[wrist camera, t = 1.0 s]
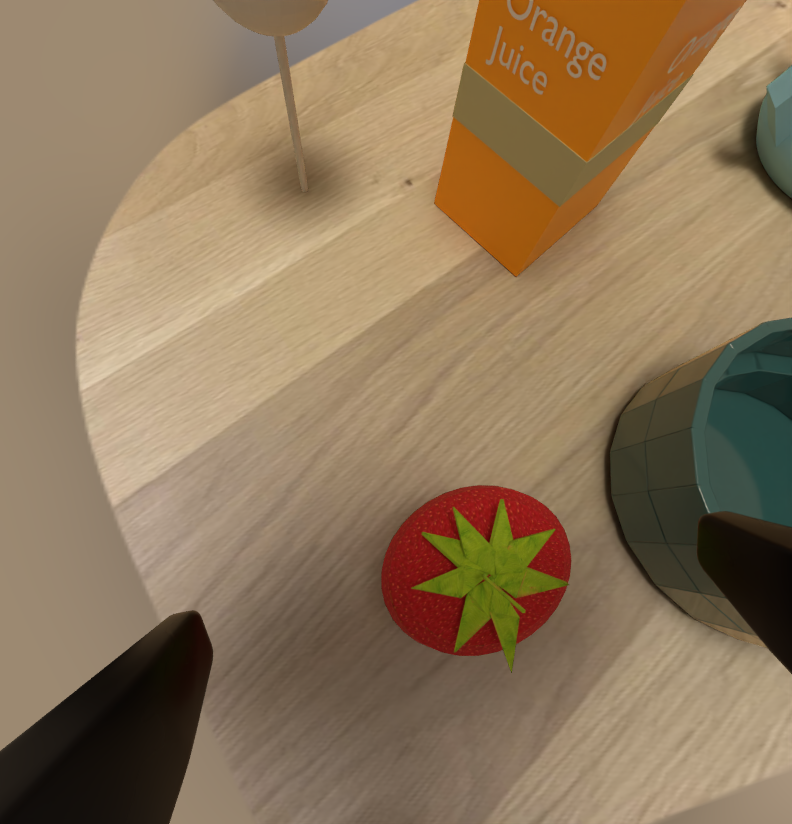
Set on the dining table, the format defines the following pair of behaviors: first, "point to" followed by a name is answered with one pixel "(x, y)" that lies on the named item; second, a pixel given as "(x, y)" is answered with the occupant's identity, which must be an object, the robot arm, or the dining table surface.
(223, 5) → the lollipop
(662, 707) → the dining table surface
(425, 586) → the strawberry
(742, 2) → the orange juice
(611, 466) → the teal pet bowl
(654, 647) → the dining table surface
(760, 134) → the teapot
